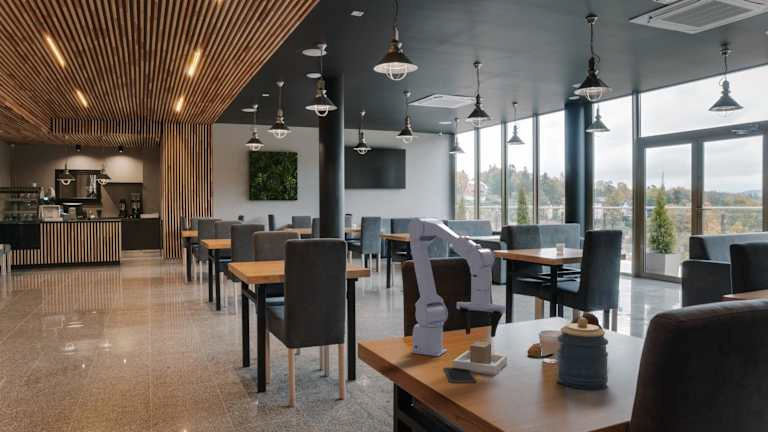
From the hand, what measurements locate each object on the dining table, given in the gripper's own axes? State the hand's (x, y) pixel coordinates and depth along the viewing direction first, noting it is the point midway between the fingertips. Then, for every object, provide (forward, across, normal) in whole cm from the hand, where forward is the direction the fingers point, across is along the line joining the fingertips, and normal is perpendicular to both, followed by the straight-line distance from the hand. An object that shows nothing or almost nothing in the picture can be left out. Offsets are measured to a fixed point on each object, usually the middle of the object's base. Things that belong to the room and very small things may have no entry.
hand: (480, 335), depth 164 cm
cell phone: (+10, -2, -11) cm, 15 cm away
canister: (+10, +29, -2) cm, 31 cm away
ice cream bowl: (+10, +27, +21) cm, 36 cm away
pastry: (+10, +13, +23) cm, 28 cm away
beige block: (+9, 0, 0) cm, 9 cm away
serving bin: (+9, 0, 0) cm, 9 cm away
